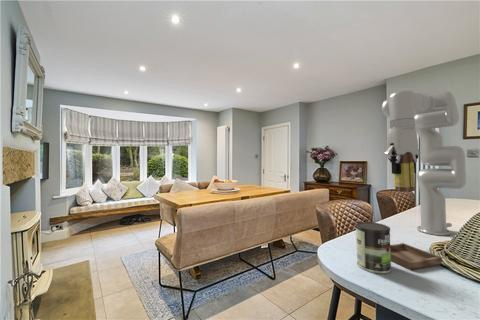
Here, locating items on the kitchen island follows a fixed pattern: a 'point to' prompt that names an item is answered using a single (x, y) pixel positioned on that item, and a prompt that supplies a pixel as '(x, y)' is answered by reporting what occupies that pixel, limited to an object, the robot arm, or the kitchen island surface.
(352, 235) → the kitchen island surface
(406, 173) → the sauce bottle
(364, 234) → the coffee can
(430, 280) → the kitchen island surface
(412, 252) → the tray
